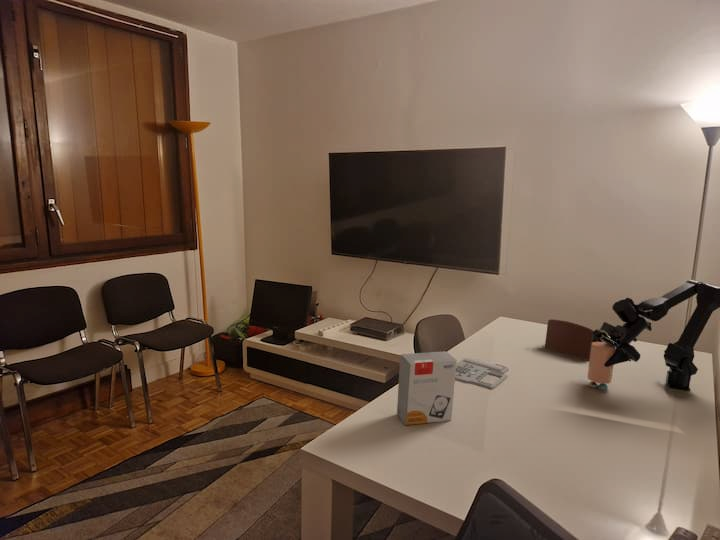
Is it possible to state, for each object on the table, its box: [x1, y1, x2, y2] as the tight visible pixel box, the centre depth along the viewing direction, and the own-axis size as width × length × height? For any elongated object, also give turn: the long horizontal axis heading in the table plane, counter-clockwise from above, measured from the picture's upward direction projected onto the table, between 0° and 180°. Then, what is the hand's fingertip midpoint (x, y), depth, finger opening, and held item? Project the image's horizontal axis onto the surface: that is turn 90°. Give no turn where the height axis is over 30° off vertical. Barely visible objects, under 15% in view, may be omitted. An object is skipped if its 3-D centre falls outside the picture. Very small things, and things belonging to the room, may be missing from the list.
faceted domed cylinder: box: [586, 342, 616, 385], centre depth 166 cm, size 7×7×12 cm
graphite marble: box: [588, 381, 599, 389], centre depth 168 cm, size 3×3×3 cm
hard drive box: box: [396, 351, 458, 426], centre depth 144 cm, size 16×8×20 cm, turn 105°
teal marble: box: [597, 383, 609, 390], centre depth 167 cm, size 3×3×3 cm
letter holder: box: [544, 318, 596, 362], centre depth 205 cm, size 10×20×14 cm, turn 42°
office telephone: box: [455, 356, 510, 390], centre depth 181 cm, size 23×3×20 cm
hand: (597, 361), depth 166 cm, fingers closed on faceted domed cylinder, 7 cm apart
